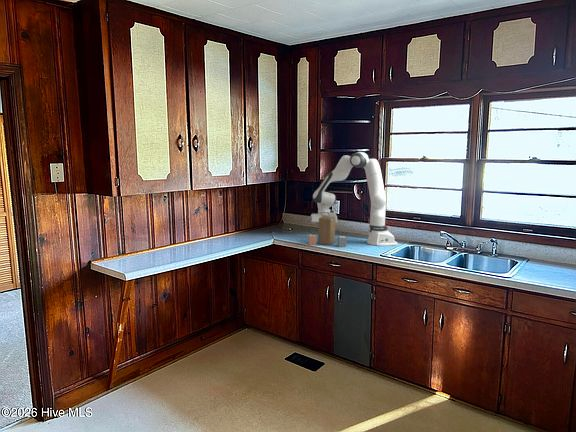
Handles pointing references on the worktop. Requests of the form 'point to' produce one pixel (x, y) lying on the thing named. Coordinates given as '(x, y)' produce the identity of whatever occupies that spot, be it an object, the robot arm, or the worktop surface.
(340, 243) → the slate block
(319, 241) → the wooden block
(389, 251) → the worktop surface
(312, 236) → the terracotta block
